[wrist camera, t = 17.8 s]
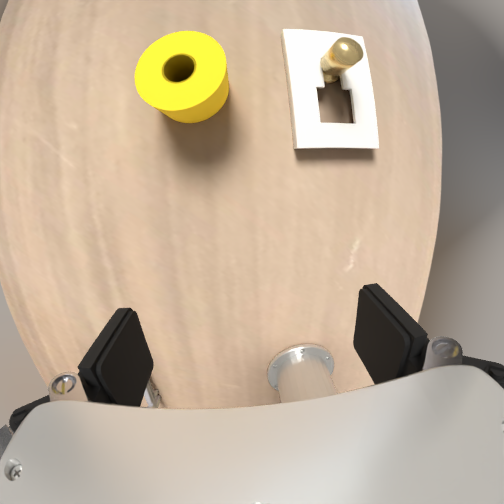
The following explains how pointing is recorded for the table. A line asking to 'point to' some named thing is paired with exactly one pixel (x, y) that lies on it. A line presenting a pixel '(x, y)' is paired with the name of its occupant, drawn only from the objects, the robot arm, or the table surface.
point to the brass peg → (340, 58)
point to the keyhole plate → (311, 77)
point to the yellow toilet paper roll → (184, 76)
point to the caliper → (152, 396)
